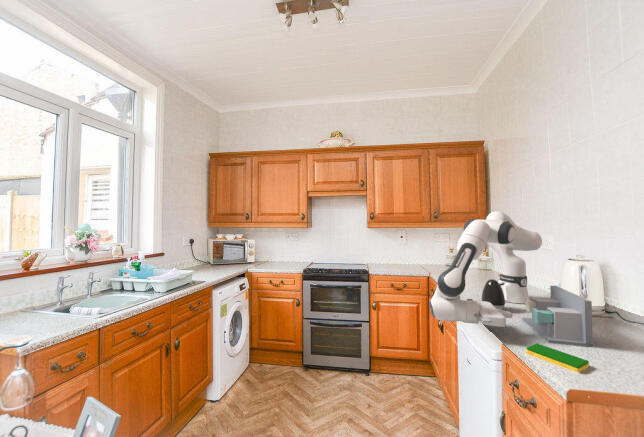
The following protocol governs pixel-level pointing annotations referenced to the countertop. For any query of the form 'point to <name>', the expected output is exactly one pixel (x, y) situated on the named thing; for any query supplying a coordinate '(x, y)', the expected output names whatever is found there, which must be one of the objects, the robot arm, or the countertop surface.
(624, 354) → the countertop surface
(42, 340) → the countertop surface
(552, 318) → the teal button
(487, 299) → the pump dispenser
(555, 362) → the dish sponge
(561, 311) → the grey angled box fixture
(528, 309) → the ivory button
